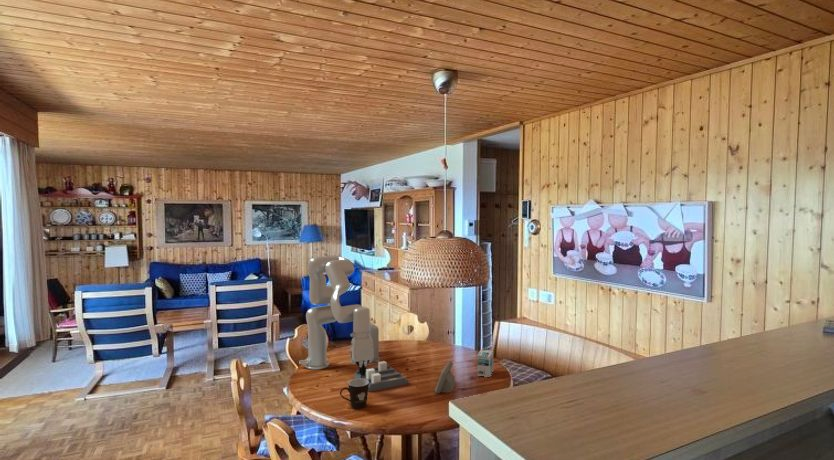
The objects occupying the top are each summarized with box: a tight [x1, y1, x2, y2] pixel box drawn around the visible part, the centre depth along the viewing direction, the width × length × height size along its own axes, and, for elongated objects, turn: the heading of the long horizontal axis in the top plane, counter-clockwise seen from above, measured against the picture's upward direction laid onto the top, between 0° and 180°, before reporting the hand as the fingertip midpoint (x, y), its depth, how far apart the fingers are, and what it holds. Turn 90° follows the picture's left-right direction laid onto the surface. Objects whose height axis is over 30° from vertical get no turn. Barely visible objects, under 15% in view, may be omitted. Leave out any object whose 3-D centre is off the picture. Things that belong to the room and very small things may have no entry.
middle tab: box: [366, 367, 375, 379], centre depth 203 cm, size 4×3×4 cm
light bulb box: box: [476, 349, 494, 378], centre depth 214 cm, size 11×7×11 cm, turn 161°
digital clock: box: [434, 361, 456, 394], centre depth 196 cm, size 16×9×11 cm, turn 152°
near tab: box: [371, 373, 381, 383], centre depth 197 cm, size 4×3×4 cm
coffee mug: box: [339, 378, 369, 410], centre depth 177 cm, size 12×9×10 cm
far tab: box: [377, 360, 388, 371], centre depth 213 cm, size 4×3×4 cm
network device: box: [368, 321, 381, 364], centre depth 239 cm, size 26×9×20 cm, turn 25°
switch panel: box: [353, 364, 409, 393], centre depth 205 cm, size 20×20×3 cm
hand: (362, 374), depth 193 cm, fingers closed
